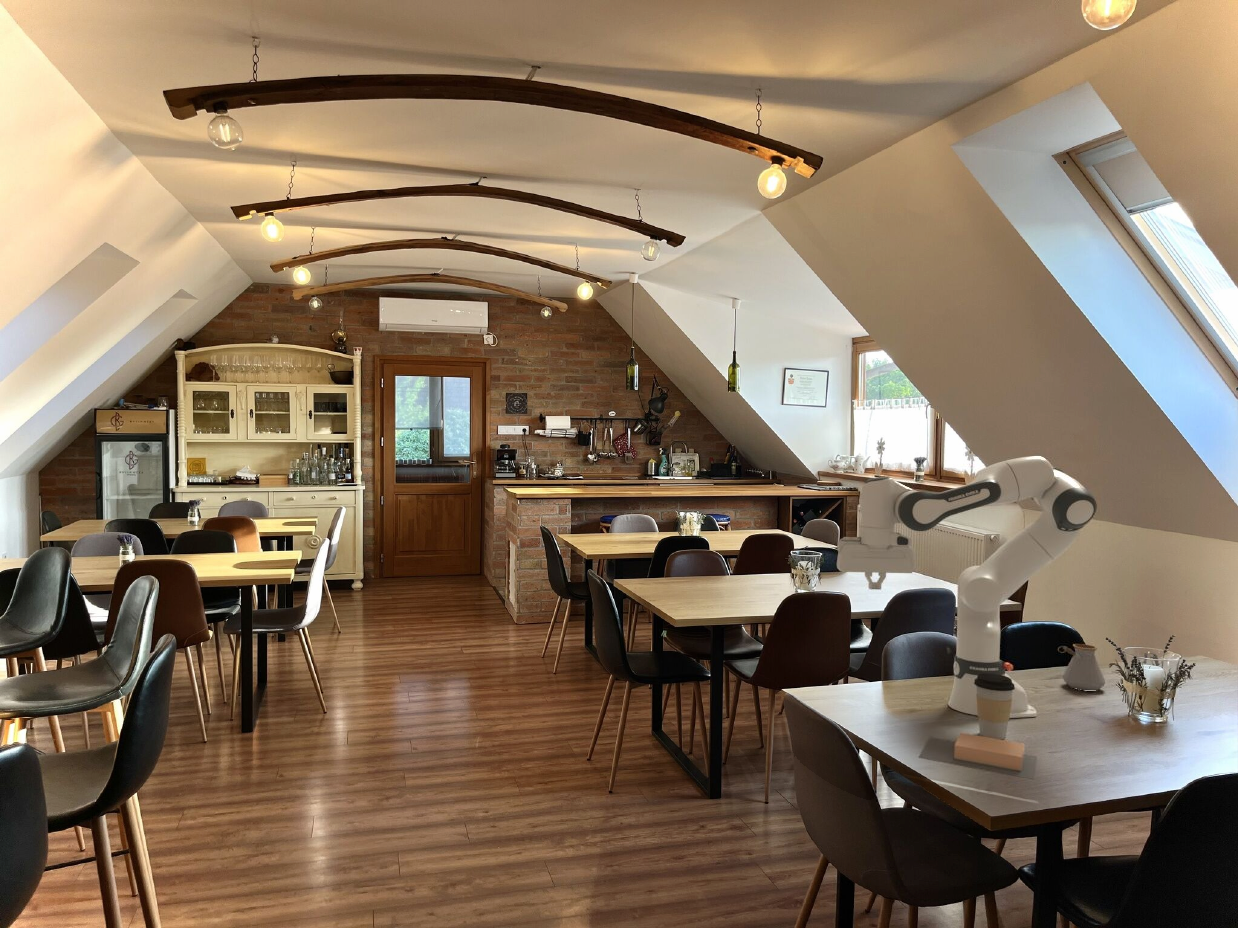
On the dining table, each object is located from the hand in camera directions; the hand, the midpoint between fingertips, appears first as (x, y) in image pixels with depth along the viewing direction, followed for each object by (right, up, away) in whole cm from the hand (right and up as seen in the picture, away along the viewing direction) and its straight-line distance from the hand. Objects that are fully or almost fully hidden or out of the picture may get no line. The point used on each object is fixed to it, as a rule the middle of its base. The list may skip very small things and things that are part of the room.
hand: (874, 589), depth 229 cm
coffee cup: (+26, -35, -13) cm, 46 cm away
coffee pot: (+69, -35, +30) cm, 83 cm away
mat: (+16, -35, -29) cm, 48 cm away
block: (+12, -33, -27) cm, 44 cm away
